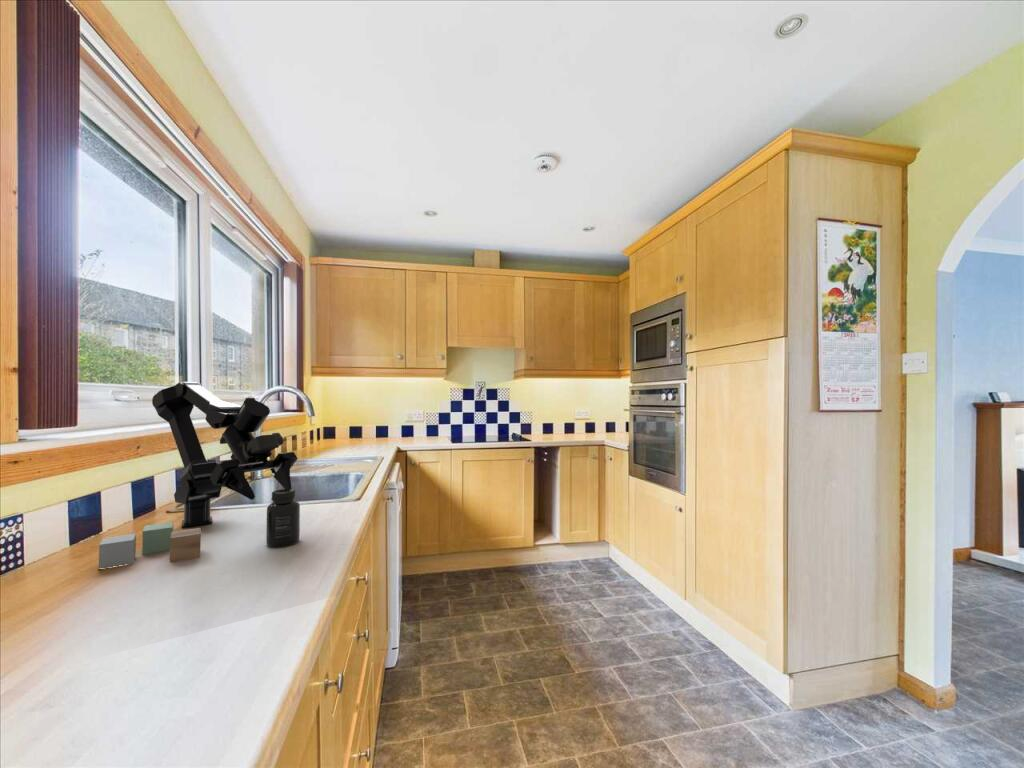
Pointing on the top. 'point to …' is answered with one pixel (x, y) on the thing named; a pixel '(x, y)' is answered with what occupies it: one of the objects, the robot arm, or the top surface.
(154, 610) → the top surface
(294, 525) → the supplement bottle
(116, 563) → the slate grey block
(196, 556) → the walnut block
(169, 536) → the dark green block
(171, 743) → the top surface
